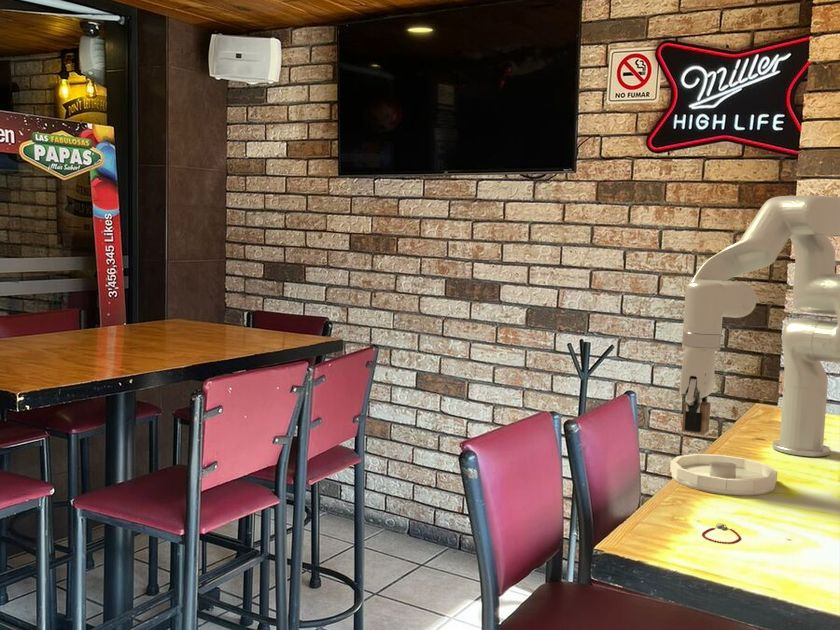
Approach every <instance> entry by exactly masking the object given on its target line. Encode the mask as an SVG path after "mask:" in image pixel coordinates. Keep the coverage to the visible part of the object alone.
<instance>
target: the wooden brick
mask: <svg viewBox="0 0 840 630" xmlns="http://www.w3.org/2000/svg"><path fill="white" fill-rule="evenodd" d="M697 403H698V401H697ZM686 404H687V400H686V401H684V402H683V410H682V411H683V413H682V426H681V432H683V433H691V434H698V435H705V434H707V433H708V432H709V431H710V419H711V418H710V416H711V406H712V405H711V404H712V402H709V401H708V402H702V405H701V412H700V413H702V425H701V431H700V432H693V431H686V430H685V414H686ZM697 405H698V404H697Z"/></svg>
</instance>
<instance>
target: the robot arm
mask: <svg viewBox="0 0 840 630" xmlns="http://www.w3.org/2000/svg"><path fill="white" fill-rule="evenodd" d="M829 236H840V196H830V195H829V196H828V195H813V194H809V195H805V194H804V195H779V196H773V197H771V198H769V199H767V200H766V201H765V202H764V203H763V204H762V205H761V207H760V209H759V210H758V212H757V213H756V214H755V216H754V218H753V219H752V221H751V223H750V224H749V226H748V227H747V228H746V230H745V232H744V233H743V235H742V236H741V238H740V239H739V240H737V242H735V243H733V244H731V245H729V246H728V247H725V249H722V250H721V251H719V252H718V253H716V254H714V255H713V256H710V258H708V259H707V260H706V261H705V262H704V263H703V264H702V265H701V266H700V268H699V269H698V270H697V272H696V273H695V274H694V277H693V278H692V279H691V282H688V283H687V285H686V287H685V294H684V295H685V297H684V309H683V310H684V312H683V323H682V324H683V326H682V327H683V328H682V342H681V348H682V349H684V353H683V358H682V364H681V374H680V383H679V384H680V385H679V395H680V396H681V397H685V396H686V401H687V404H686V414H685V430H686V431H693V432H700V431H701V425H702V413H700V412H701V405H702V402H709V395H710V394H712V393H713V390H714V386H715V385H714V384H715V370H716V352H717V351H718V352H719V351H721V346H722V345H721V343H722V328H723V317H724V318H732V319H733V318H735V319H736V318H744V317H746V316H748V315H750V314H751V313H752V312H753V310H754V309H755V308H756V305H757V294H756V291H755V290H754V288H753V287H752V286H751V285H749V284H748V283H745V282H741V281H734V280H733V281H732V280H731V279H733V278H736V277H738V276H741V275H744V274H747V273H751V272H755V271H758V270H762V269H763V268H766V267H769V266H771V265H772V264H774V263H775V261H776V260H777V258H778V256H779V255H780V253H781V252H782V251H783V249H784V247H785V246H786V243H787V242H788V241H789V239H790V241H791V243H792V245H793V248H794V253H795V254H794V255H795V256H794V257H795V261H794V262H795V263H794V272H793V273H794V275H793V287H792V302H793V306H794V307H795V308H796V309H797V310H799V312H800V311H801V312H805V313H811V314H819V315H828V316H830V315H832V316H836V321H835V320H827V319H817V318H806V317H804V318H803V317H802V318H801V317H800V318H796V319H793V320H791V321H789V322H787V324H786V325H784V326H783V327H784V328H782V329H783V330H782V334H781V341H782V342H781V343H782V345H781V346H782V350H783V351H782V352H783V358H784V359H783V361H784V362H783V363H784V371H783V373H784V374H783V387H782V391H783V392H782V403H781V416H780V417H781V418H780V431H779V432H780V433H779V439H777V440H775V441H772V448H773V450H775V451H778V452H780V453H781V452H782V453H784V454H788V455H793V456H802V457H813V458H815V457H817V458H819V457H826V456H829V455H830V454H831V449H830V447H829V446H827V445H825V444H824V441H825V440H824V438H825V427H826V426H825V425H826V414H827V413H826V412H827V411H826V410H827V401H828V400H827V398H828V397H827V395H828V388H829V387H828V386H829V379H828V375H827V372H826V370H825V368H824V365H823V364H822V362H826V363H834V364H835V363H836V364H840V273H836V249H835V247H834V245H833V243H832V241H831V240H830V238H829ZM697 401H698V403H697ZM697 404H698V405H697Z"/></svg>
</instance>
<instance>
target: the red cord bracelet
mask: <svg viewBox="0 0 840 630" xmlns="http://www.w3.org/2000/svg"><path fill="white" fill-rule="evenodd" d="M716 529H721V530H722V531H726V530H729V531H730V532H732V533H734V534H735V535H736V536H737V537H738V538H737V539H736V540H733V541H721V540H720V541H719V540H714V539H712V538H709V537H707V536H706V534H707V533H709V532H710V531H713V530H716ZM701 537H702V538H704V539H705V540H706V541H710V542H712V543H718V544H725V545H729V544H730V545H731V544H736V543H738V542H740V541H741V540H742V537H741V535H740V534H739V533H738V532H737V531H735V530H734V529H733V528H729V527H727V525H726V524H724V523H720V522H717V523H716V527H710V528H708V529H706V530H704V531H703V532H702V534H701Z"/></svg>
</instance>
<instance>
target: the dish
mask: <svg viewBox="0 0 840 630" xmlns="http://www.w3.org/2000/svg"><path fill="white" fill-rule="evenodd" d="M669 466H670V467H669V468H670V469H669V472H671V478H672V479H673V480H674V481H675V482H677V483H678V484H680V485H683V486H685V487H687V488H691V489H694V490H698V491H702V492H706V493H710V494H716V495H717V494H719V495H726V496H727V495H729V496H739V495H740V496H743V497H744V496H751V497H753V496H760V495H761V496H762V495H765V494H766V495H767V494H770V493H773V491H775V489H776V484H777V482H778V473H779V472H778V471H777V470H776V469H774V468H772V467H771V466H770V465H768V464H767V463H763V462H759V461H757V460H753V459H749V458H745V457H738V456H732V455H725V454H714V453H713V454H712V453H710V454H709V453H708V454H707V453H692V454H685V455H683V454H682V455H677V456H676V457H674V458H673V459H672V460H670V465H669ZM740 496H739V497H740Z"/></svg>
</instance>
